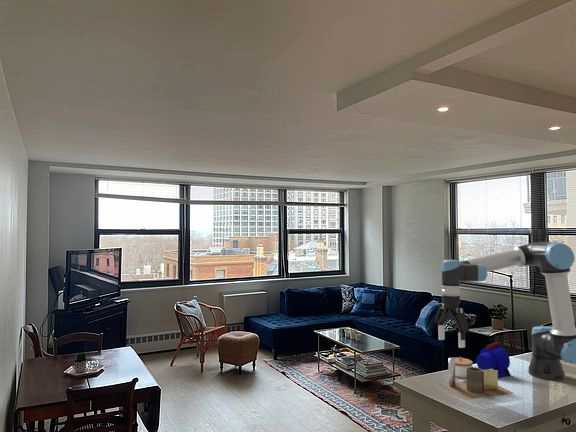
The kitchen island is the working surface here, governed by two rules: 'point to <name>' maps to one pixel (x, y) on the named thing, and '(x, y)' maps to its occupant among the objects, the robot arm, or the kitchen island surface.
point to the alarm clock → (494, 359)
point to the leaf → (490, 380)
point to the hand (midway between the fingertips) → (451, 343)
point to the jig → (474, 386)
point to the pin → (451, 372)
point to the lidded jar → (462, 366)
